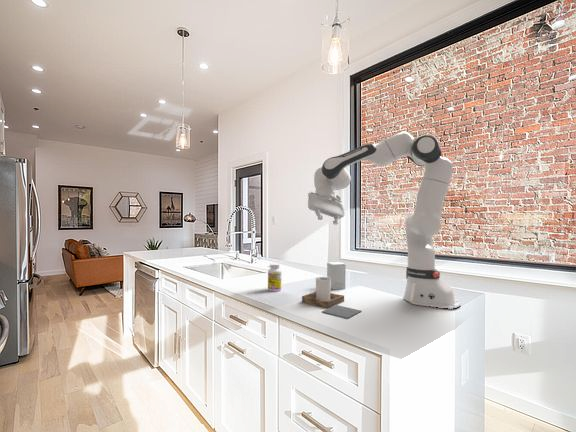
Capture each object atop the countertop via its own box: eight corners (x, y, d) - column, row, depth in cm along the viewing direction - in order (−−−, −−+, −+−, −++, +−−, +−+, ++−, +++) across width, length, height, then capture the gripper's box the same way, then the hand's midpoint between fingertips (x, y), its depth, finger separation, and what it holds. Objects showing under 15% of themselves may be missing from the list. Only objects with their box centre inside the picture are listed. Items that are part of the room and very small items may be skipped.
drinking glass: (328, 304, 126) (329, 280, 126) (313, 302, 129) (313, 279, 129) (332, 300, 132) (332, 277, 132) (317, 298, 135) (318, 276, 135)
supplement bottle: (265, 289, 150) (265, 263, 150) (274, 287, 154) (275, 262, 154) (274, 292, 145) (274, 265, 145) (284, 290, 150) (284, 264, 150)
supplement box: (345, 288, 154) (346, 264, 154) (332, 289, 152) (332, 264, 152) (339, 285, 161) (339, 261, 161) (326, 286, 159) (326, 262, 159)
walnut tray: (344, 301, 131) (344, 295, 131) (328, 308, 121) (328, 302, 121) (318, 295, 140) (319, 290, 140) (302, 302, 130) (302, 296, 130)
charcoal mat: (361, 311, 118) (361, 310, 118) (347, 318, 109) (347, 317, 109) (336, 305, 125) (336, 304, 125) (321, 312, 116) (321, 311, 116)
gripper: (312, 187, 141) (314, 213, 134) (344, 199, 151) (348, 223, 144) (304, 194, 145) (306, 219, 139) (335, 205, 156) (339, 229, 149)
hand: (328, 221), depth 142 cm, fingers open, 8 cm apart
